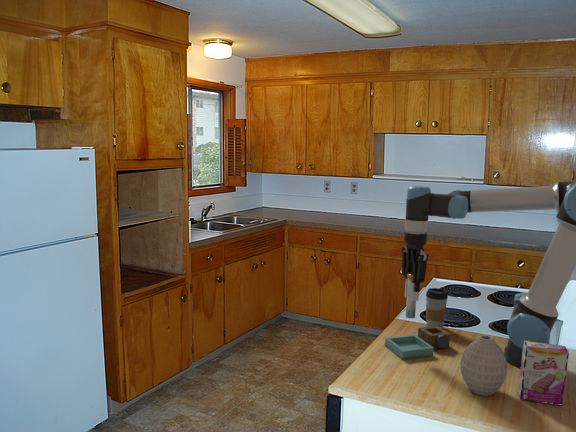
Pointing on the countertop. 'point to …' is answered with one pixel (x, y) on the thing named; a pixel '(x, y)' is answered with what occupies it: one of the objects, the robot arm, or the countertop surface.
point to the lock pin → (410, 304)
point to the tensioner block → (434, 336)
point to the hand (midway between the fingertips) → (411, 298)
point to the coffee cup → (436, 307)
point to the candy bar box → (543, 372)
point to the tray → (409, 347)
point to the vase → (484, 366)
